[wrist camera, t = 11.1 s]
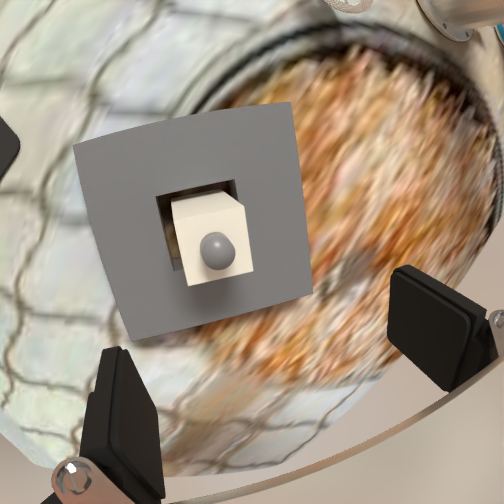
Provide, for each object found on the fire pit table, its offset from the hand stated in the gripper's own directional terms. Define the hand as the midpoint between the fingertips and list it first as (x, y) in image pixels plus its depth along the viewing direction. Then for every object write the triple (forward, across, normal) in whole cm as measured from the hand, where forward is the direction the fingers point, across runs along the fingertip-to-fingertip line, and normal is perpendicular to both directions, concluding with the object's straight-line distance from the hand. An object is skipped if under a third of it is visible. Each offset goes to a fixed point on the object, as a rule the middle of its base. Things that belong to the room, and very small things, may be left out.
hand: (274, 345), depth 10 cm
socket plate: (+20, 0, 0) cm, 20 cm away
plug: (+20, 0, 0) cm, 20 cm away
